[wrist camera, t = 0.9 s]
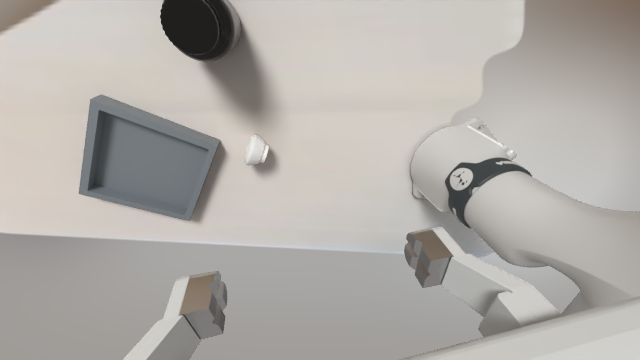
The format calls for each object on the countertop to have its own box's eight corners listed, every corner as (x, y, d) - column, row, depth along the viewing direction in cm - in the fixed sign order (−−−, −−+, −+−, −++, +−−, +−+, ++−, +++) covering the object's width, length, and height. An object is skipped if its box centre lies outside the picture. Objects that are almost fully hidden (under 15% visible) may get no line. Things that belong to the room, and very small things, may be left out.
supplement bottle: (176, 33, 32) (136, 38, 22) (195, -24, 29) (159, -46, 19) (229, 63, 35) (214, 81, 25) (250, 14, 32) (243, 12, 22)
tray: (219, 140, 40) (217, 146, 38) (192, 212, 47) (189, 221, 45) (101, 94, 34) (90, 99, 32) (88, 184, 40) (78, 193, 38)
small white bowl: (253, 128, 40) (251, 141, 36) (270, 134, 42) (271, 147, 37) (244, 154, 43) (242, 169, 38) (261, 160, 44) (260, 174, 40)
